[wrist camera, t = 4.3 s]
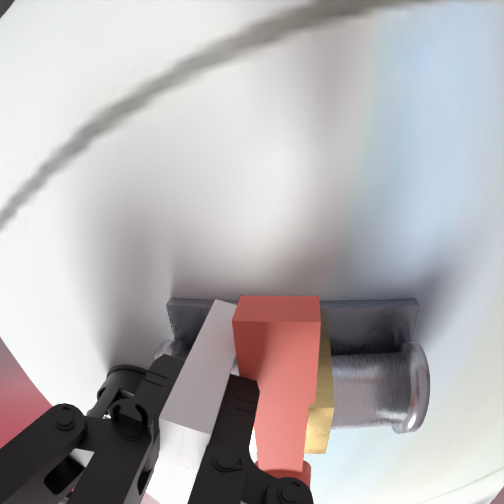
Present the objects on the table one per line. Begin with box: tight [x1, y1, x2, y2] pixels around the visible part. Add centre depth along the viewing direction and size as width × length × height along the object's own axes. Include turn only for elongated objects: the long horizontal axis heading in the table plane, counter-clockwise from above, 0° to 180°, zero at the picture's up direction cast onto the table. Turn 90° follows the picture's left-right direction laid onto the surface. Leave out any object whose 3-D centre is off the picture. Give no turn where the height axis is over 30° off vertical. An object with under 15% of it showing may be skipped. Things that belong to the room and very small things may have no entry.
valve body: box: [152, 299, 430, 454], centre depth 21 cm, size 20×12×10 cm, turn 94°
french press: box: [58, 365, 159, 504], centre depth 21 cm, size 12×9×23 cm
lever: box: [232, 295, 321, 489], centre depth 13 cm, size 15×4×2 cm, turn 4°
